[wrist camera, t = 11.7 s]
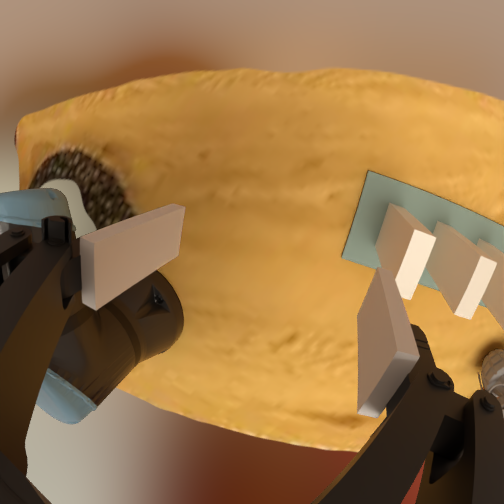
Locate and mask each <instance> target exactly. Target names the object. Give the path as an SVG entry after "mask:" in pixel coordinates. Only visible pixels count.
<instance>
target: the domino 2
mask: <svg viewBox="0 0 504 504" xmlns="http://www.w3.org/2000/svg"><path fill="white" fill-rule="evenodd" d="M433 235H434V236H435V237H436V240H435V243H434V245H433V248H432V251H431V253H430V256H429V258H428V261H427V263H426V266H425V268H426V269H427V271H428V272H429V274H430V275H431V277H432V279H433V280H434V282H435V283H436V285H437V287H438V288H439V290H440V291H441V293H442V295H443V296H444V298H445V300H446V301H447V303H448V305H449V306H450V308H451V310H452V312H453V313H454V315H457V316H460V317H464V318H467V319H470V320H471V318H472V316H473V314H474V312H475V310H476V308H477V306H478V304H479V302H480V300H481V298H482V296H483V294H484V292H485V290H486V288H487V286H488V283H489V281H490V279H491V277H492V274H493V272H494V270H495V267H496V265H497V262H496V261H495V260H493V259H492V258H491V257H490V256H489V255H487V254H486V253H485V252H484V251H482V250H481V249H480V248H479V247H477V246H476V245H475V244H474V243H472V242H471V241H470V240H468V239H467V238H466V237H465V236H463V235H462V234H461V233H459V232H458V231H457V230H455V229H454V228H453V227H451V226H449V225H447V224H444V223H442V222H439V221H437V224H436V227H435V229H434V232H433Z"/></svg>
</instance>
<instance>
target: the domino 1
mask: <svg viewBox="0 0 504 504" xmlns="http://www.w3.org/2000/svg"><path fill="white" fill-rule="evenodd" d="M435 240H436V237H435V236H434V235H433V234H432V233H431V232H430V231H429V230H428V229H427V228H426V227H425V226H424V225H423V224H422V223H421V222H419V221H418V220H417V219H416V218H415V217H414V216H413V215H412V214H411V213H409V212H408V211H407V210H406V209H405V208H403V207H400V206H397V205H395V204H392V203H389V205H388V208H387V212H386V215H385V218H384V221H383V224H382V227H381V230H380V233H379V236H378V238H377V241H376V244H375V248H376V251H377V254H378V257H379V260H380V264H381V267H382V268H383V269H386V270H389V271H392V273H393V276H394V278H395V281H396V284H397V287H398V289H399V292H400V295H401V297H402V298H405V299H408V300H411V298H412V295H413V293H414V291H415V289H416V287H417V284H418V282H419V280H420V277H421V275H422V273H423V270H424V268H425V266H426V263H427V261H428V258H429V256H430V253H431V251H432V248H433V245H434V243H435Z"/></svg>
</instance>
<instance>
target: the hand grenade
mask: <svg viewBox="0 0 504 504" xmlns="http://www.w3.org/2000/svg"><path fill="white" fill-rule="evenodd" d="M477 373H478V378H479V383H480V386H481V390H483V388H482V385H481V380H480V375H479V372H477ZM481 377H482V383H483V386H484V389H485V391H488V392H489V393H492V394H493V395H494V396H496V397H500V398H499V399H497V400H498V401H499V402H500V404H501V407H502V411H503V418H504V350H503V349H502V350H501V349H495V350H494V351H491V352H489V355H486V357H485V358H484V361H483V364H482V373H481Z"/></svg>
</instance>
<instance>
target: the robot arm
mask: <svg viewBox="0 0 504 504" xmlns="http://www.w3.org/2000/svg"><path fill="white" fill-rule="evenodd" d="M185 208H186V207H184V206H181V205H177V204H174V203H172V204H169V205H166V206H163V207H160V208H157V209H154V210H152V211H149V212H146V213H143V214H140V215H137V216H134V217H132V218H129V219H126V220H123V221H120V222H118V223H115V224H112V225H110V226H107V227H104V228H102V229H99V230H96V231H94V232H91V233H89V234H86V235H84V236H81V237H79V238H77V239H76V236H75V231H76V227H75V226H74V225H73V222H72V218H71V214H70V210H69V206H68V202H67V199H66V197H65V195H64V194H63V193H62V192H61V191H59V190H57V189H52V188H39V189H27V190H19V191H12V192H5V193H0V504H51V502H50V501H49V500H48V499H47V498H46V497H45V496H44V495H43V494H41V492H40V491H39V490H38V489H37V488H36V487H35V486H34V485H33V484H32V483H31V482H30V481H29V480H28V479H27V477H26V474H27V466H28V464H27V455H26V450H25V439H26V435H27V431H28V427H29V424H30V420H31V417H32V414H33V410H34V407H35V404H37V405H38V406H39V407H40V408H41V409H43V410H44V411H45V412H46V413H48V414H49V415H50V416H52V417H53V418H55V419H57V420H58V421H61V422H63V423H66V424H76V423H78V422H80V421H81V420H83V419H84V418H85V417H86V416H87V415H88V414H89V413H90V412H91V411H94V410H96V408H97V406H99V405H100V403H101V402H102V401H103V400H104V399H105V398H106V397H107V396H108V395H109V394H110V393H111V392H112V391H113V389H115V387H116V386H117V385H118V384H119V383H120V382H121V381H122V380H123V379H124V378H125V377H126V376H127V375H128V374H129V373H130V371H131V370H132V369H133V368H134V367H135V366H136V365H137V364H138V363H140V362H142V361H144V360H146V359H149V358H151V357H153V356H155V355H157V354H161V353H163V352H165V351H167V350H168V349H169V348H170V347H171V346H172V345H173V344H174V343H175V342H176V341H177V340H178V338H179V337H180V335H181V332H182V329H183V312H182V308H181V305H180V302H179V299H178V297H177V295H176V293H175V292H174V290H173V288H172V287H171V285H170V284H169V283H168V282H167V280H166V279H165V278H164V277H163V276H162V275H161V274H160V273H159V272H157V271H156V270H157V269H159V268H160V267H162V266H163V265H165V264H166V263H168V262H169V261H171V260H172V259H174V258H175V257H177V256H178V255H179V248H180V240H181V233H182V227H183V220H184V214H185ZM357 326H358V402H357V414H361V415H366V416H370V417H374V418H378V417H379V415H380V414H381V413H382V412H383V410H384V409H385V408H386V411H387V417H386V418H385V419H384V421H383V422H382V423H381V424H380V426H379V427H378V428H377V429H376V430H375V432H374V433H373V434H372V435H371V436H370V439H369V440H368V441H367V443H366V444H365V445H364V446H363V447H362V449H361V450H360V451H359V452H358V453H357V455H356V456H355V457H354V458H353V459H352V461H351V462H350V463H349V464H348V465H347V466H346V468H345V469H344V470H343V471H342V472H341V473H340V474H339V475H338V476H337V477H336V478H335V480H334V481H333V482H332V483H331V484H330V485H329V486H328V487H327V488H326V489H325V490H324V491H323V492H322V493H321V494H320V495H319V496H318V497H317V498H316V499H315V500H314V501H313V502H312V503H311V504H401V502H402V500H403V499H404V497H405V495H406V494H407V492H408V490H409V489H410V487H411V485H412V483H413V482H414V480H415V478H416V476H417V474H418V472H419V470H420V468H421V467H422V465H423V462H424V461H425V464H424V470H423V474H422V479H421V483H420V487H419V492H418V496H417V500H416V503H415V504H504V418H503V411H502V407H501V404H500V402H499V401H498V400H497V397H496V396H494V395H493V394H492V393H489V392H488V391H485V390H477V391H476V392H475V393H474V394H473V395H472V396H471V398H470V399H468V398H466V397H463V396H461V395H459V394H457V393H455V392H453V391H454V383H453V381H452V379H451V378H450V377H449V375H448V374H447V373H445V372H444V371H443V370H441V369H439V368H437V367H436V365H435V362H434V359H433V356H432V353H431V351H430V347H429V344H428V341H427V338H426V336H425V334H424V332H423V331H422V330H421V329H420V328H419V326H416V325H413V324H410V322H409V319H408V316H407V313H406V310H405V307H404V304H403V301H402V298H401V295H400V292H399V289H398V287H397V284H396V281H395V278H394V276H393V273H392V271H389V270H386V269H383V268H380V267H377V269H376V272H375V274H374V277H373V279H372V282H371V284H370V287H369V289H368V292H367V294H366V296H365V299H364V301H363V303H362V306H361V308H360V310H359V313H358V315H357Z"/></svg>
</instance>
